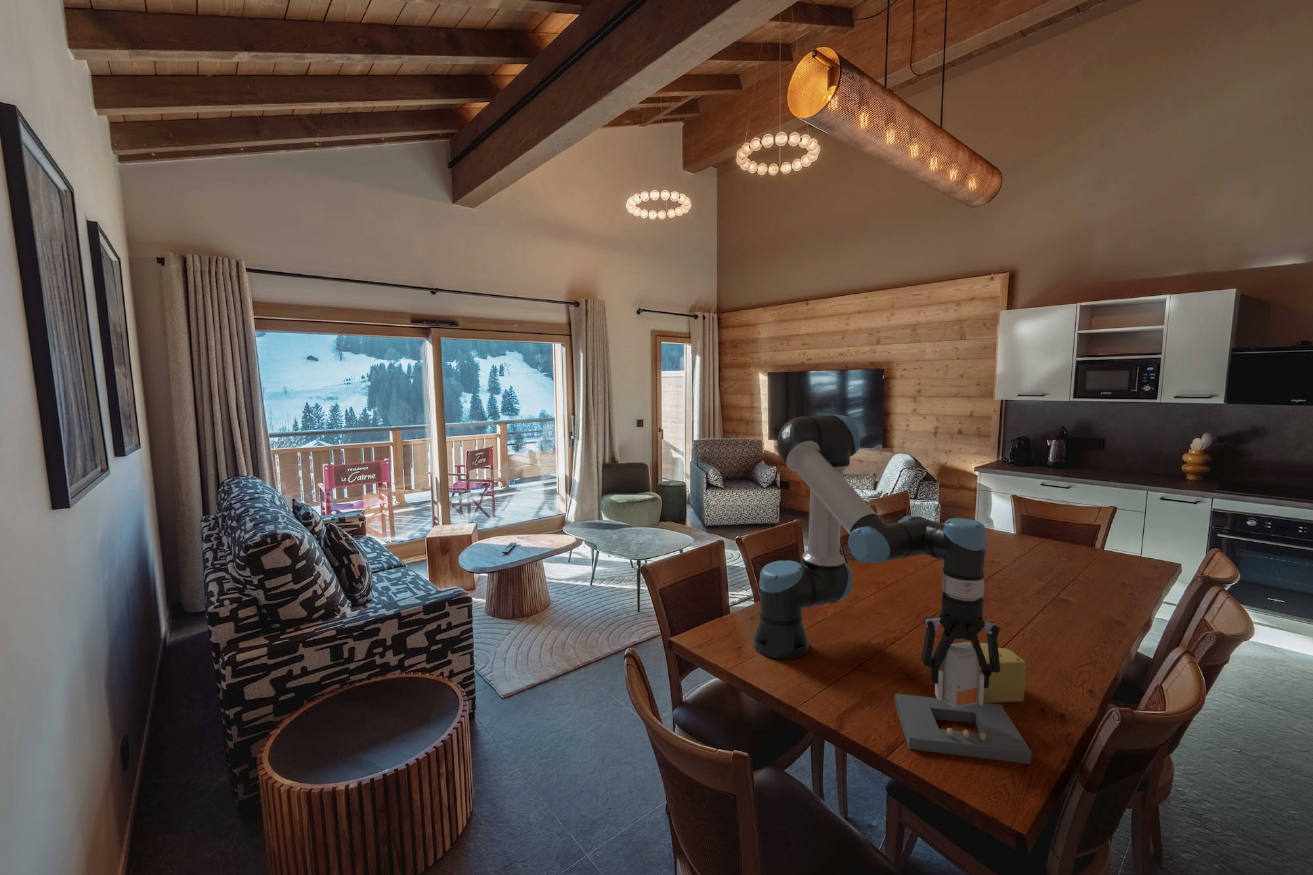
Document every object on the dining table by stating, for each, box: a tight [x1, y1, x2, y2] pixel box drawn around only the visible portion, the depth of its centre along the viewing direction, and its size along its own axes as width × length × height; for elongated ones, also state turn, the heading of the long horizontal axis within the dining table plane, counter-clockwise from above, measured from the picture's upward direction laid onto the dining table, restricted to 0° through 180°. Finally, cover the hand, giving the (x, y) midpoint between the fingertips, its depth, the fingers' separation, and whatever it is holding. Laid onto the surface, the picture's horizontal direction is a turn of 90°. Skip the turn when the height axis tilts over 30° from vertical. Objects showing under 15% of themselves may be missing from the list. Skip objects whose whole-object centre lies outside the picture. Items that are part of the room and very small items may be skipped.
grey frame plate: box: [894, 693, 1032, 765], centre depth 119 cm, size 22×16×4 cm
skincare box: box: [940, 641, 979, 709], centre depth 117 cm, size 6×4×12 cm
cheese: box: [965, 641, 1027, 704], centre depth 133 cm, size 10×11×10 cm
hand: (958, 698), depth 118 cm, fingers closed on skincare box, 7 cm apart
